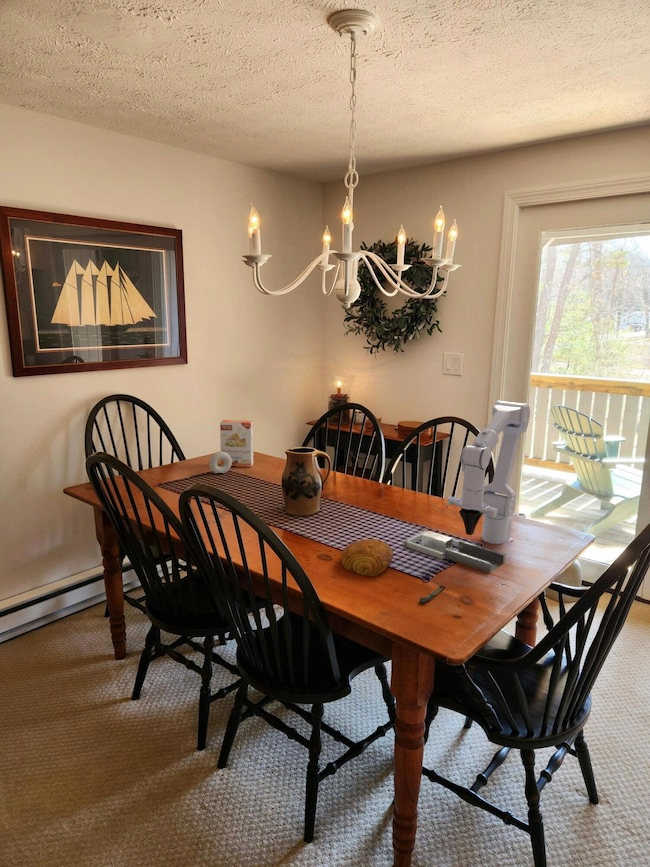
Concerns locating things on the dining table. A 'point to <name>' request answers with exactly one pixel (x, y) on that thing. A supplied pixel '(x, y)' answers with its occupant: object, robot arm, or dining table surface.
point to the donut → (218, 456)
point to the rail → (476, 556)
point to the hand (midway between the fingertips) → (469, 533)
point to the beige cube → (428, 539)
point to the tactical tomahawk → (432, 594)
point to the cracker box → (237, 441)
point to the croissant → (367, 557)
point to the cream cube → (442, 543)
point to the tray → (412, 544)
